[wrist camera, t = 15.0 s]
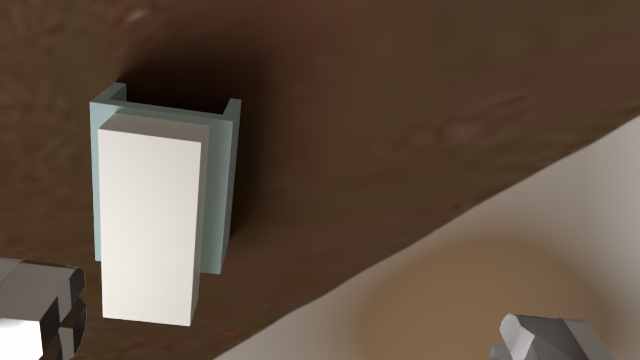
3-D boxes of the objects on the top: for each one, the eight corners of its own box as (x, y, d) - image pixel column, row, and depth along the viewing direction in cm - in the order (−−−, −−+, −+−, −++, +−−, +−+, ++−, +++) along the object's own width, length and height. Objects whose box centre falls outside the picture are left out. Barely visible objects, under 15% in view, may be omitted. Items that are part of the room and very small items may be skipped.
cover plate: (209, 125, 34) (201, 142, 31) (197, 299, 40) (190, 326, 37) (114, 112, 34) (97, 128, 31) (116, 290, 39) (102, 317, 37)
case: (241, 99, 38) (233, 121, 34) (228, 239, 43) (220, 274, 39) (115, 82, 38) (89, 101, 33) (117, 226, 43) (95, 260, 38)
